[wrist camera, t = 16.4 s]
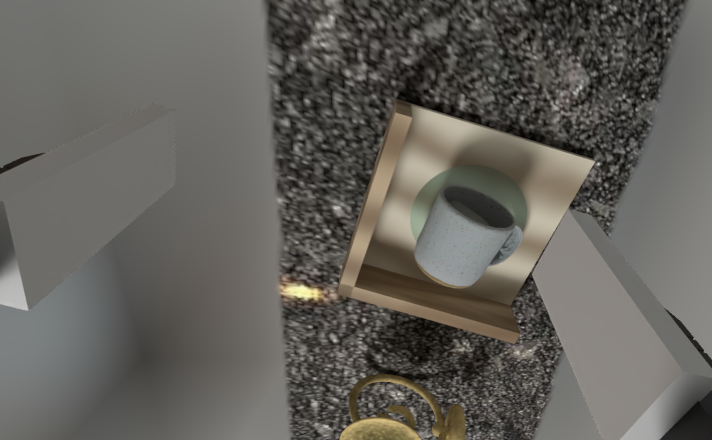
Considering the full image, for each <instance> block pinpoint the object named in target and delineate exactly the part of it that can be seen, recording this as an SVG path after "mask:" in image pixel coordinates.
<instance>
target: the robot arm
mask: <svg viewBox="0 0 712 440" xmlns="http://www.w3.org/2000/svg"><path fill="white" fill-rule="evenodd" d="M175 110H176V109H173V108H169V107H165V106H161V105H157V104H153V103H152V104H150V105H147V106H145V107H143V108H141V109H139V110H137V111H135V112H132V113H130V114H128V115H126V116H124V117H122V118H120V119H117V120H115V121H113V122H111V123H109V124H107V125H105V126H103V127H100V128H98V129H96V130H94V131H92V132H90V133H87V134H85V135H83V136H81V137H79V138H77V139H75V140H73V141H70V142H68V143H66V144H64V145H62V146H60V147H57V148H55V149H53V150H51V151H49V152H47V153H41V154H36V155H32V156H28V157H23V158H20V159H18V160H16V161H13V162H11V163H9V164H7V165H5V166H4V167H3V168H0V304H2V305H6V306H10V307H15V308H19V309H23V310H27V311H29V310H30V309H31V308H32V307H34V306H35V305H36V304H37V303H38V302H39V301H40V300H42V299H43V298H44V297H45V296H46V295H48V294H49V293H50V292H51V291H52V290H53V289H55V288H56V287H57V286H58V285H59V284H60V283H61V282H63V281H64V280H65V279H66V278H67V277H69V276H70V274H72V273H73V272H74V271H75V270H77V269H78V268H79V267H80V266H81V265H82V264H84V263H85V262H86V261H87V260H88V259H89V258H90V257H92V256H93V255H94V254H95V253H96V252H97V251H99V250H100V249H101V248H102V247H103V246H104V245H106V244H107V243H108V242H109V241H110V240H111V239H113V238H114V237H115V236H116V235H117V234H118V233H120V232H121V231H122V230H123V229H124V228H125V227H127V225H129V224H130V223H131V222H132V221H133V220H135V219H136V218H137V217H138V216H139V215H140V214H141V213H143V212H144V211H145V210H146V209H147V208H149V206H151V205H152V204H153V203H154V202H155V201H157V200H158V199H159V198H160V197H161V196H162V195H164V194H165V193H166V192H167V191H168V190H169V189H171V188H172V187H173V186H174V185H175V119H176V111H175ZM532 276H533V278H534V281H535V283H536V285H537V288H538V290H539V292H540V295H541V297H542V300H543V302H544V304H545V307H546V309H547V311H548V314H549V316H550V318H551V321H552V323H553V325H554V328H555V330H556V332H557V335H558V337H559V339H560V342H561V344H562V346H563V349H564V351H565V353H566V356H567V358H568V360H569V363H570V365H571V368H572V370H573V372H574V375H575V377H576V379H577V382H578V384H579V386H580V388H581V391H582V393H583V396H584V398H585V400H586V403H587V405H588V407H589V410H590V412H591V414H592V417H593V419H594V421H595V424H596V426H597V428H598V431H599V433H600V436H601V438H602V440H712V360H711V358H710V357H709V356H708V354H706V353H704V350H703V348H702V347H701V346H700V345H699V343H698V342H697V341H696V340H693V338H694V337H693V336H692V335H691V333H690V332H689V331H688V330H687V329H686V327H685V326H684V325H683V324H682V322H681V321H680V320H678V319H677V318H676V317H675V316H674V315H672V314H671V313H670V312H669V311H668V310H666V309H665V308H664V307H663V306H662V305H661V304H660V302H659V301H658V300H657V298H656V297H655V296H654V295H653V293H652V292H651V291H650V290H649V288H648V287H647V286H646V285H645V283H644V282H643V281H642V280H641V278H640V277H639V276H638V274H637V273H636V272H635V271H634V269H633V268H632V267H631V266H630V264H629V263H628V262H627V261H626V259H625V258H624V257H623V256H622V254H621V253H620V252H619V250H618V249H617V248H616V247H615V245H614V244H613V243H612V242H611V240H610V239H609V238H608V236H607V235H606V234H605V233H604V231H603V230H602V229H601V228H600V226H599V225H598V224H597V223H596V221H595V220H594V219H593V218H592V216H591V215H589V214H585V213H581V212H577V211H573V210H569V209H568V210H567V212H566V214H565V215H564V217H563V219H562V221H561V223H560V224H559V226H558V228H557V230H556V232H555V233H554V235H553V237H552V239H551V241H550V243H549V244H548V246H547V248H546V250H545V252H544V253H543V255H542V257H541V259H540V261H539V262H538V264H537V266H536V268H535V270H534V271H533V273H532Z"/></svg>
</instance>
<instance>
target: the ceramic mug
mask: <svg viewBox="0 0 712 440" xmlns="http://www.w3.org/2000/svg"><path fill="white" fill-rule="evenodd" d="M509 236H510V237H509ZM508 237H509V238H508ZM506 240H507V241H506ZM522 240H523V231H522V229H521V227H520V225H519V224H518V223H517V222H516V221H515V218H514V216H513V215H512V214H511V212H510V211H509V210H508V209H507V208H506V207H505V206H504V205H502V204H501V203H500V202H499V201H497V200H495V199H494V198H492V197H491V196H489V195H487V194H485V193H483V192H480V191H478V190H476V189H474V188H470V187H467V186H463V185H458V184H449V185H445V186H444V187H443V188H441V190H440V191H439V194H438V196H437V198H436V200H435V203H434V205H433V207H432V209H431V211H430V213H429V215H428V218H427V220H426V222H425V224H424V227H423V229H422V231H421V233H420V235H419V237H418V239H417V242H416V246H415V250H414V257H415V261H416V263H417V264H418V266H419V268H420V269H421V270H422V271H423V272H424V273H425V274H426V275H427V276H428V277H430V278H431V279H432V280H434V281H435V282H437V283H439V284H442V285H444V286H447V287H451V288H466V287H469V286H471V285H473V284H474V283H475V282H476V281H477V280H478V279H479V278H480V277H481V276H482V274H483V273H484V272H485V271H486V269H487V267H489V266H494V265H498V264H500V263H501V262H503V261H505V260H506V259H508V258H509V257H510V256H511V255H512V254H513V253H514V252H515V251H516V250H517V249H518V247H519V246H520V244H521V242H522ZM503 244H504V245H503Z"/></svg>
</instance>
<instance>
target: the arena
mask: <svg viewBox="0 0 712 440" xmlns="http://www.w3.org/2000/svg"><path fill="white" fill-rule="evenodd" d="M594 163H595V161H594V160H593V159H591V158H588V157H585V156H581V155H578V154H575V153H572V152H568V151H565V150H562V149H559V148H555V147H552V146H549V145H546V144H542V143H539V142H536V141H532V140H529V139H526V138H523V137H519V136H516V135H513V134H510V133H506V132H503V131H500V130H496V129H493V128H490V127H487V126H483V125H480V124H477V123H474V122H470V121H467V120H464V119H460V118H457V117H454V116H451V115H447V114H444V113H441V112H438V111H434V110H431V109H428V108H424V107H421V106H418V105H415V104H411V103H408V102H405V101H402V100H398V99H396V100H395V103H394V106H393V110H392V113H391V116H390V119H389V122H388V125H387V128H386V131H385V135H384V138H383V141H382V144H381V147H380V150H379V153H378V157H377V160H376V163H375V166H374V169H373V172H372V175H371V179H370V182H369V185H368V188H367V191H366V194H365V197H364V200H363V204H362V207H361V210H360V213H359V216H358V219H357V222H356V226H355V229H354V232H353V235H352V238H351V241H350V244H349V248H348V251H347V254H346V257H345V260H344V263H343V267H342V272H341V276H340V281H339V286H338V290H337V294H339V295H343V296H347V297H350V298H354V299H357V300H361V301H364V302H368V303H371V304H375V305H378V306H382V307H386V308H389V309H393V310H396V311H400V312H403V313H407V314H410V315H414V316H417V317H421V318H425V319H428V320H432V321H435V322H439V323H442V324H446V325H449V326H453V327H457V328H460V329H464V330H467V331H471V332H474V333H478V334H481V335H485V336H488V337H492V338H496V339H499V340H503V341H506V342H510V343H513V344H515V342H516V340H517V339H518V337H519V336H520V331H519V328H518V325H517V322H516V320H515V317H514V314H513V311H512V309H511V304H512V302H513V300H514V299H515V297H516V295H517V294H518V292H519V290H520V289H521V287H522V285H523V283H524V282H525V280H526V278H527V277H528V275H529V273H530V272H531V270H532V268H533V266H534V265H535V263H536V261H537V260H538V258H539V256H540V255H541V253H542V251H543V249H544V248H545V246H546V244H547V243H548V241H549V239H550V237H551V236H552V234H553V232H554V231H555V229H556V227H557V226H558V224H559V222H560V220H561V219H562V217H563V215H564V214H565V212H566V210H567V209H568V207H569V205H570V203H571V202H572V200H573V198H574V197H575V195H576V193H577V192H578V190H579V188H580V186H581V185H582V183H583V181H584V180H585V178H586V176H587V175H588V173H589V171H590V169H591V168H592V166H593V164H594ZM449 184H458V185H463V186H467V187H470V188H474V189H476V190H478V191H480V192H483V193H485V194H487V195H489V196H491V197H492V198H494V199H495V200H497V201H499V202H500V203H501V204H502V205H504V206H505V207H506V208H507V209H508V210H509V211H510V212H511V214H512V215H513V216H514V218H515V221H516V222H517V223H518V224H519V225H520V227H521V229H522V231H523V240H522V242H521V244H520V246H519V247H518V249H517V250H516V251H515V252H514V253H513V254H512V255H511V256H510V257H509V258H508V259H506V260H505V261H503V262H501V263H500V264H498V265H494V266H489V267H487V269H486V271H485V272H484V273H483V274H482V276H481V277H480V278H479V279H478V280H477V281H476V282H475V283H474V284H473V285H471V286H469V287H466V288H451V287H447V286H444V285H442V284H439V283H437V282H435V281H434V280H432V279H431V278H430V277H428V276H427V275H426V274H425V273H424V272H423V271H422V270H421V269H420V268H419V266H418V264H417V263H416V261H415V257H414V250H415V246H416V242H417V239H418V237H419V235H420V233H421V231H422V229H423V227H424V224H425V222H426V220H427V218H428V215H429V213H430V211H431V209H432V207H433V205H434V203H435V200H436V198H437V196H438V194H439V191H440V190H441V188H443V187H444V186H445V185H449ZM509 237H510V236H509ZM509 237H508V238H509ZM506 241H507V240H506ZM503 245H504V244H503Z"/></svg>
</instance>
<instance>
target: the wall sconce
mask: <svg viewBox="0 0 712 440" xmlns="http://www.w3.org/2000/svg"><path fill="white" fill-rule="evenodd" d="M380 381H385V382H394V383H398V384H402V385H405V386H407V387H409V388H411V389H413V390H414V391H416V392H417V393H419V394H420V395H421V396H423V397H424V398H425V399H426V400H427V402H428V403H429V404H430V405H431V407H432V409H433V411H434V413H435V417H436V421H437V424H435V425H434V426H433V428H432V432H433V434H434V436H438V440H465V417H464V412H463V409H462V407H461V405H459V404H453V405H452V406H451V407H450V409H449V411H448V413H447V416H446V420H445V423H444V418H443V414H442V412H441V409H440V407H439V405H438V403H437V401H436V400H435V399H434V398H433V396H432V395H431V394H430V393H429V392H428V391H427V390H425V389H424V388H423V387H422V386H420V385H418V384H417V383H415V382H413V381H411V380H409V379H407V378H404V377H401V376H397V375H391V374H375V375H370V376H367V377H365V378H363V379H361V380H360V381H359V382H357V383H356V385H355V386H354V387H353V389H352V391H351V393H350V397H349V412H350V415H351V418H352V420H353V423H352V424H350V425H349V426H347V427H346V428H345V429H344V431H343V432H342V434H341V437H340V440H421V438H420V436H419V435H418V433H417V432H416V431H415V430H414V427H415V421H414V417H413V415H412V413H411V412H410V411H409V410H408V409H407V408H405V407H403V406H400V405H392V406H389V407H388V411H389V412H391V413H401V414H402V415H404V417H405V418H406V420H407V424H405V423H403V422H401V421H398V420H396V419H392V418H388V414H381V413H379V412H378V411H377V415H378V417H368V418H363V419H361V418H360V416H359V414H358V412H357V407H356V401H357V396H358V393H359V391H360V390H361V389H362V388H363V387H364V386H366V385H368V384H370V383H373V382H380Z"/></svg>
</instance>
